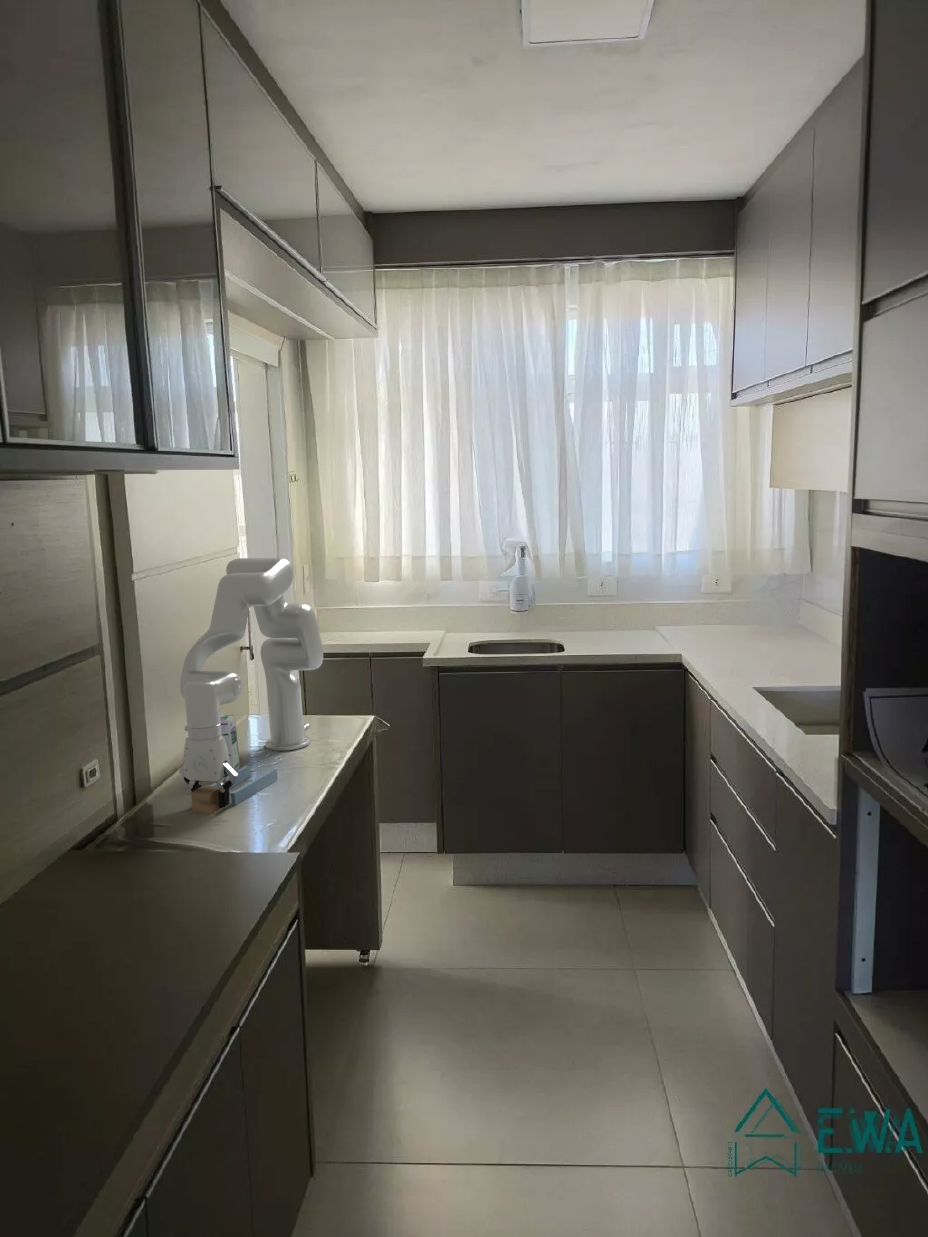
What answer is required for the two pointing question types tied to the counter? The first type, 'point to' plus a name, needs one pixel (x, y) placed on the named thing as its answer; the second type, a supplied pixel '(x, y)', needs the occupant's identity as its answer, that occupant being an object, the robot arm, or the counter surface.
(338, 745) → the counter surface
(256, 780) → the channel
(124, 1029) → the counter surface
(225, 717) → the syrup box
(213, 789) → the walnut block
